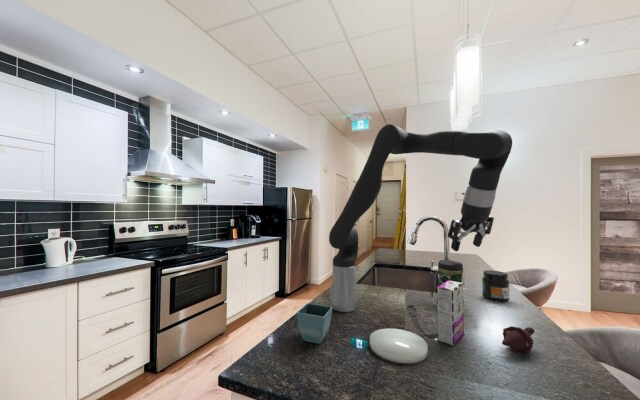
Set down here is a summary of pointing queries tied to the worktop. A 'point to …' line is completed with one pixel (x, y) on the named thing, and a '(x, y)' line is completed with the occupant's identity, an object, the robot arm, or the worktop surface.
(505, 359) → the worktop surface
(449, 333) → the candy bar box
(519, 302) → the worktop surface
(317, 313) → the flower pot
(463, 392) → the worktop surface
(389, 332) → the plate
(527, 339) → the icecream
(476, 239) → the robot arm
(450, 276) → the coffee jar
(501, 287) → the supplement container
